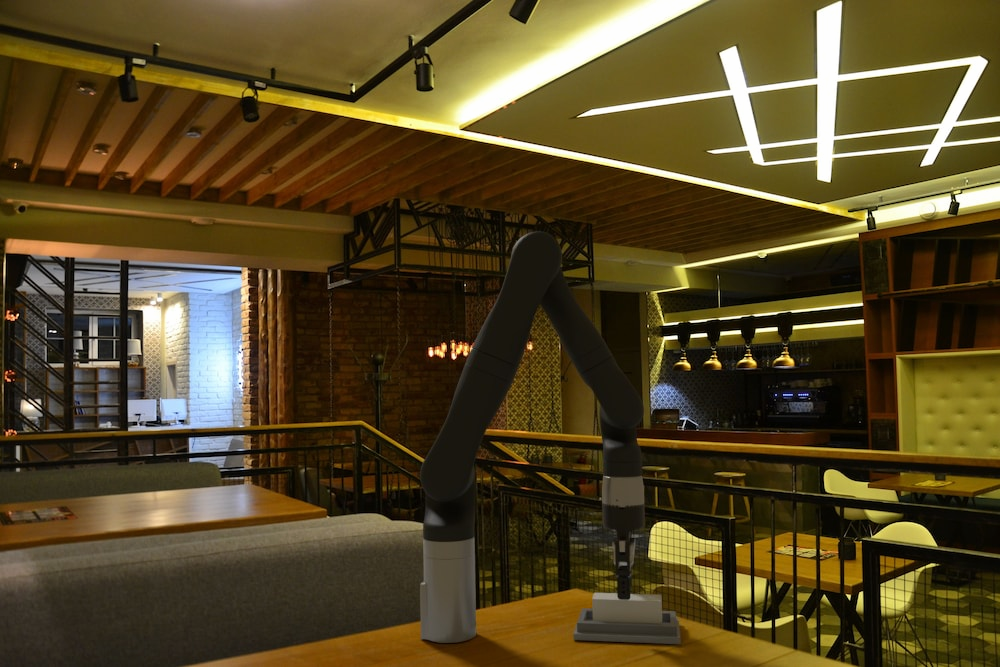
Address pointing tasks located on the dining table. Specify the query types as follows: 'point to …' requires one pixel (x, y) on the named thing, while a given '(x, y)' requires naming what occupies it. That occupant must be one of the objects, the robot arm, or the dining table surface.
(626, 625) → the cradle
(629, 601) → the off-white tapered block
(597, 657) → the dining table surface
